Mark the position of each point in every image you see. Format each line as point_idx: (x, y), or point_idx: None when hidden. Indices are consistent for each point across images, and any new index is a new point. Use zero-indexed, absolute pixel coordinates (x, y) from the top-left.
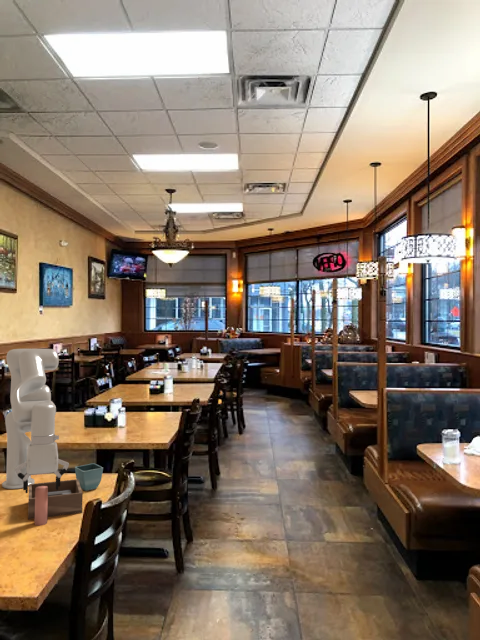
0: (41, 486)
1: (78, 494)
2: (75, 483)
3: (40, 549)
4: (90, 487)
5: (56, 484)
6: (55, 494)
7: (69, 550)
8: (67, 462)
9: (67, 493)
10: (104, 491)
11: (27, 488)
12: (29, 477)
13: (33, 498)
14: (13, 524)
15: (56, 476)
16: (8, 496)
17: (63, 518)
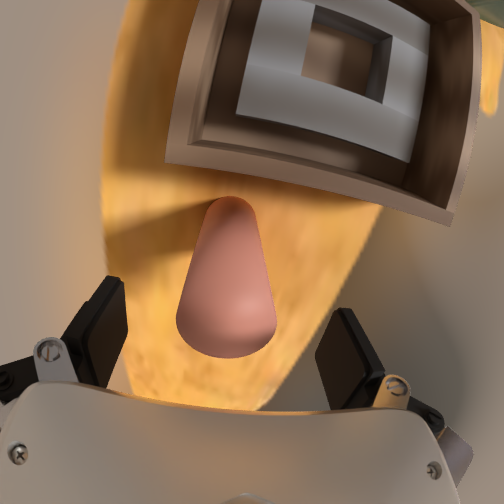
0: (231, 293)
1: (434, 220)
2: (460, 16)
3: (201, 385)
4: None
5: (325, 381)
6: (360, 21)
7: (258, 406)
8: (467, 465)
9: (412, 55)
10: (494, 58)
11: (117, 355)
12: None
13: (195, 161)
14: (127, 179)
15: (364, 385)
16: None
17: (324, 216)
